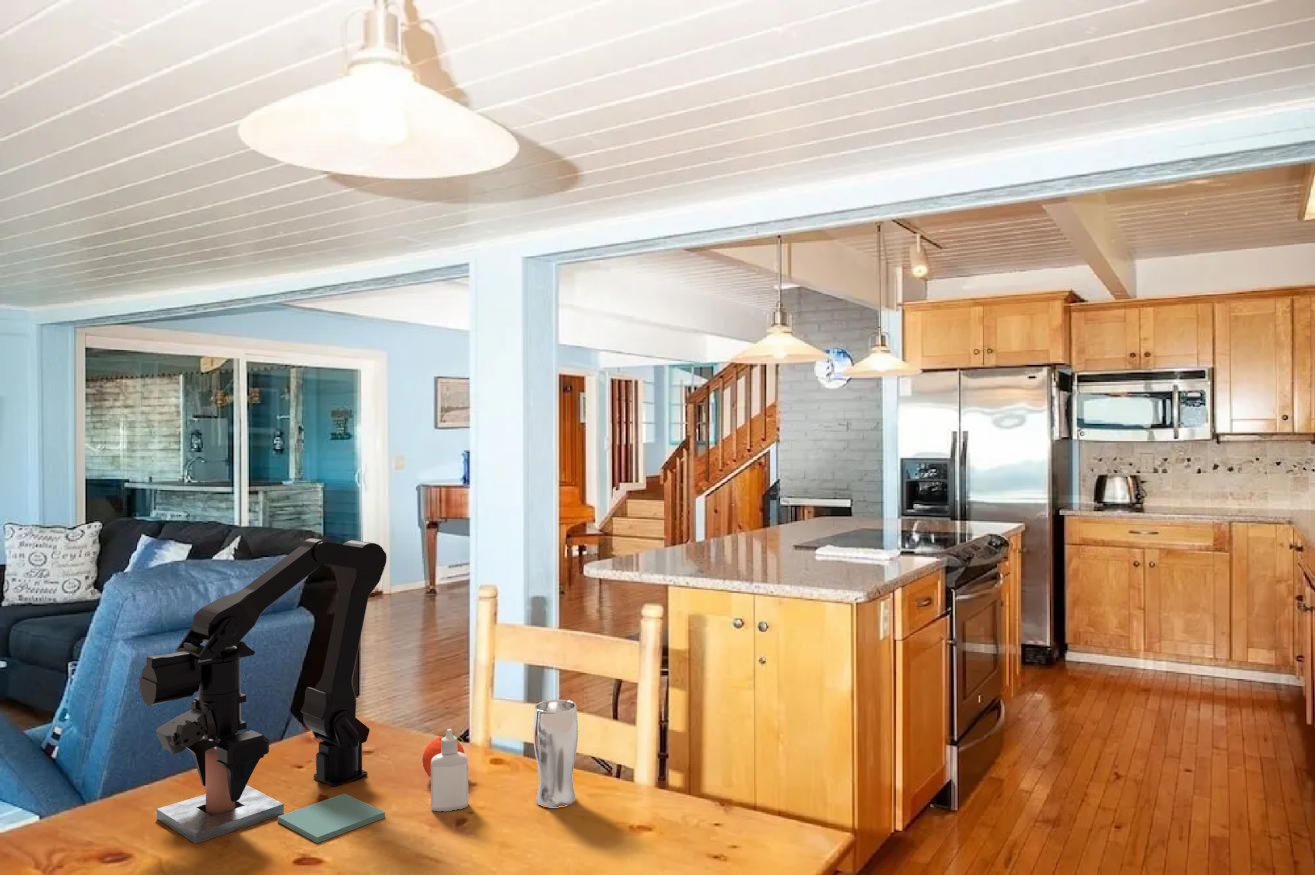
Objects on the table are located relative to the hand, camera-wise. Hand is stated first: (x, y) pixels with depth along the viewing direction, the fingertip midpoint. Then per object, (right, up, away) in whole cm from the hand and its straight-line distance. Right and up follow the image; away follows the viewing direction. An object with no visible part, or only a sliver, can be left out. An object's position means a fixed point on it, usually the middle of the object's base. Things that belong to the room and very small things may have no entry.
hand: (220, 793), depth 138 cm
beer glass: (+50, -4, +5) cm, 50 cm away
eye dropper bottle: (+34, -4, +3) cm, 34 cm away
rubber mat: (+17, -4, -1) cm, 18 cm away
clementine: (+31, -4, +15) cm, 34 cm away
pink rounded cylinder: (0, -4, 0) cm, 4 cm away
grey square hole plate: (0, -4, 0) cm, 4 cm away
